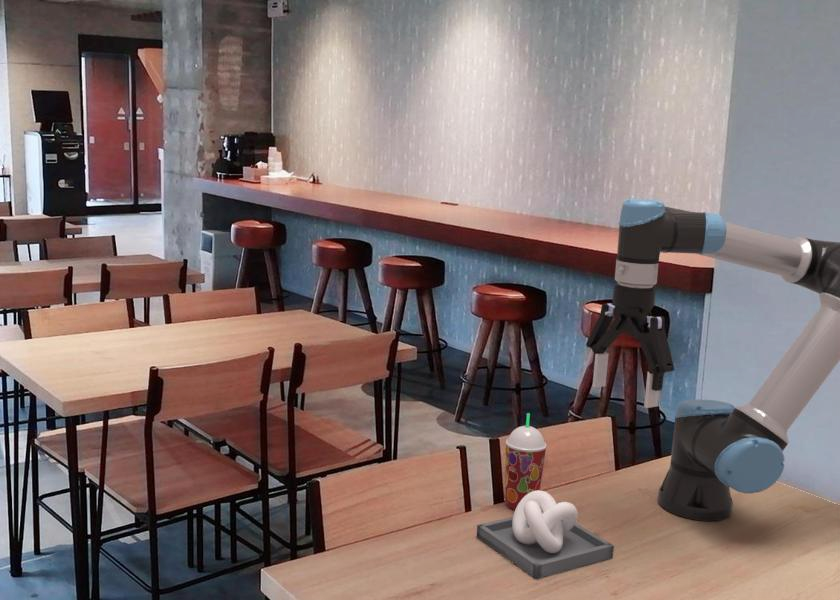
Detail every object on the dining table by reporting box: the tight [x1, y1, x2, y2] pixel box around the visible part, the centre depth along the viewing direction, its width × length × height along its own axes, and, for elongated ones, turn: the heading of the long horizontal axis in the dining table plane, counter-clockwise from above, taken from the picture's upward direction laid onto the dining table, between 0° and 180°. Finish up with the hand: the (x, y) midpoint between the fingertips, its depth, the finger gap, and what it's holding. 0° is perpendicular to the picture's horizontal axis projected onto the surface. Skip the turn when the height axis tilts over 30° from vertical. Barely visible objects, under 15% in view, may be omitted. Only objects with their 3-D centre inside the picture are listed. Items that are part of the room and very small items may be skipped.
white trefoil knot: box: [512, 489, 579, 554], centre depth 168 cm, size 11×12×9 cm
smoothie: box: [504, 412, 548, 510], centre depth 186 cm, size 8×8×20 cm
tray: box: [476, 509, 615, 580], centre depth 169 cm, size 18×18×2 cm
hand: (624, 396), depth 169 cm, fingers open, 13 cm apart
